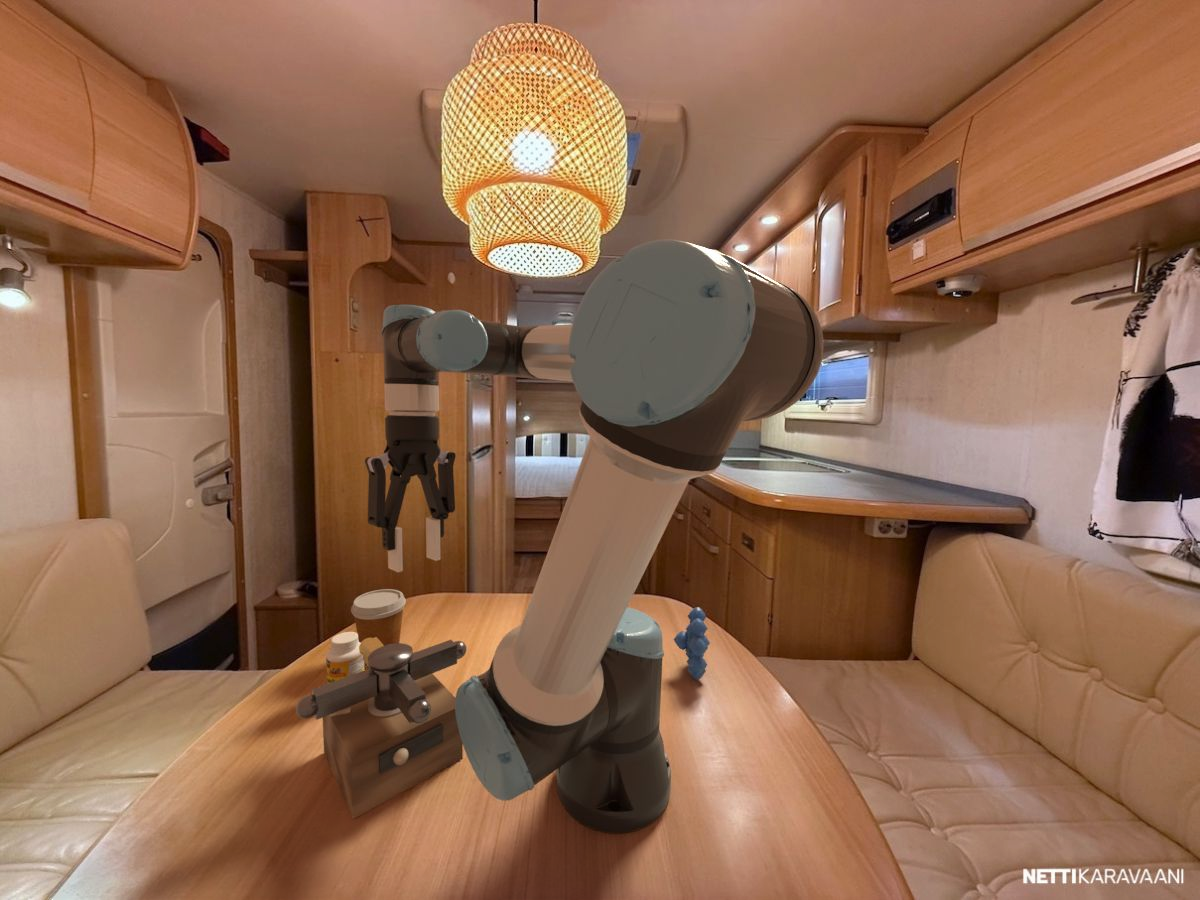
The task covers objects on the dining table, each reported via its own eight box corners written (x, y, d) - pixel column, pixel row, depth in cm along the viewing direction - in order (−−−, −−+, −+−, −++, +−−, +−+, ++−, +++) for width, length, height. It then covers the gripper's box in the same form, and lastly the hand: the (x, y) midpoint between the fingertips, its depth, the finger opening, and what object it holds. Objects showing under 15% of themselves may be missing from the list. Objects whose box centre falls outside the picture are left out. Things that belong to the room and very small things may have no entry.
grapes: (672, 652, 92) (674, 596, 91) (705, 655, 91) (708, 598, 90) (672, 687, 81) (675, 623, 80) (711, 691, 80) (714, 626, 79)
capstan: (503, 704, 63) (503, 658, 62) (319, 797, 47) (317, 737, 47) (435, 641, 79) (434, 604, 78) (281, 696, 63) (278, 649, 63)
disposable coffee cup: (392, 672, 83) (391, 610, 82) (341, 670, 83) (339, 608, 82) (415, 645, 93) (414, 588, 91) (369, 643, 93) (367, 587, 92)
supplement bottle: (320, 697, 76) (318, 639, 75) (352, 680, 80) (350, 625, 79) (340, 709, 73) (337, 649, 72) (372, 691, 78) (370, 634, 77)
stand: (467, 764, 62) (467, 708, 62) (355, 829, 53) (353, 763, 52) (421, 707, 74) (420, 659, 73) (322, 752, 64) (319, 697, 63)
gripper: (450, 413, 77) (451, 544, 80) (334, 413, 62) (340, 575, 65) (479, 414, 73) (479, 553, 75) (361, 415, 58) (366, 588, 60)
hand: (415, 563), depth 70 cm, fingers open, 6 cm apart
